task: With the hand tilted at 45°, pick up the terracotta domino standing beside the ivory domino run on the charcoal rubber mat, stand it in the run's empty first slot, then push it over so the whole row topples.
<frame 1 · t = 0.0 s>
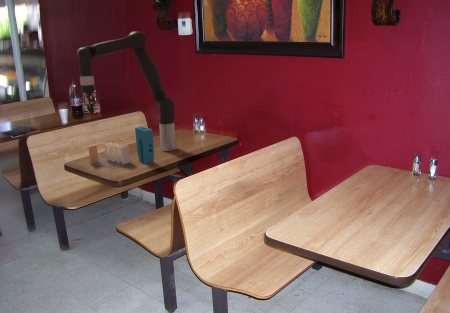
hand: (90, 112, 266), 29 cm above the table, tool pointing down, fingers open, 8 cm apart
domino 3: (115, 160, 271), resting on mat
terracotta tile: (94, 162, 270), resting on mat
block: (146, 162, 268), on the table
mat: (110, 162, 269), on the table
domino 5: (126, 163, 266), resting on mat
domino 2: (110, 159, 274), resting on mat
domino 4: (120, 161, 269), resting on mat
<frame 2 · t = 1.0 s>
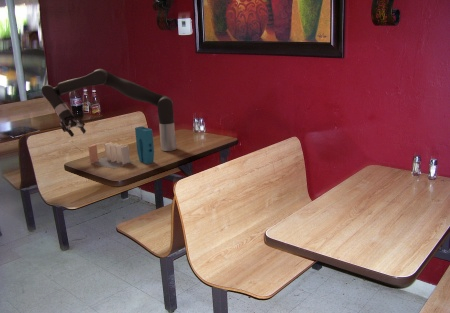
hand: (79, 134, 271), 16 cm above the table, tool tilted 45°, fingers open, 8 cm apart
nothing on the table moved.
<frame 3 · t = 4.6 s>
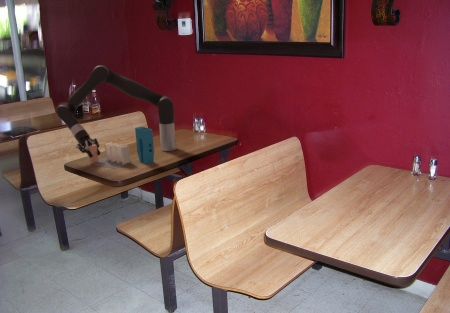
hand: (95, 155, 268), 5 cm above the table, tool tilted 45°, fingers closed on terracotta tile, 5 cm apart
terracotta tile: (94, 162, 270), resting on mat, touching gripper
everything else where it was.
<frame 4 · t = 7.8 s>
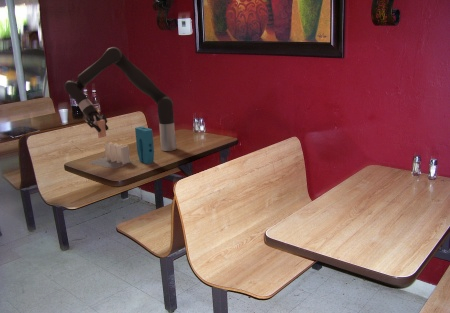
hand: (103, 130, 270), 18 cm above the table, tool tilted 45°, fingers closed on terracotta tile, 5 cm apart
terracotta tile: (102, 137, 272), point 14 cm above the table, touching gripper
everything else where it was.
when the fingers open (5 cm above the table, at t = 11.1 s): terracotta tile stays where it is, resting on mat.
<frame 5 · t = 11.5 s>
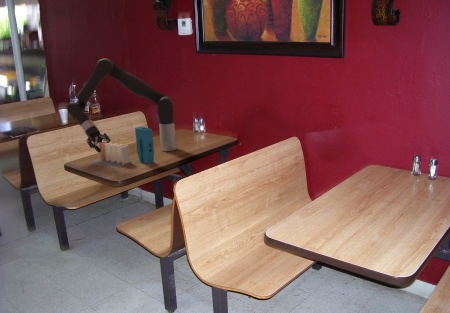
hand: (105, 150, 274), 6 cm above the table, tool tilted 45°, fingers open, 8 cm apart
terracotta tile: (104, 158, 276), resting on mat
everything else where it was.
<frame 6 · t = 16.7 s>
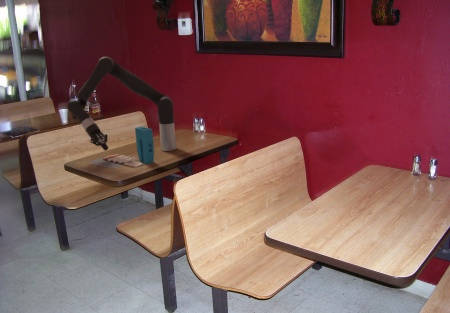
hand: (106, 149, 273), 6 cm above the table, tool tilted 45°, fingers closed
domino 3: (116, 160, 271), point 1 cm above the table, tilted 74°, touching domino 2, domino 4, mat
terracotta tile: (105, 157, 276), point 1 cm above the table, tilted 74°, touching domino 2, mat
domino 5: (127, 162, 266), point 1 cm above the table, tilted 93°, touching domino 4, mat
domino 2: (111, 158, 273), point 1 cm above the table, tilted 74°, touching domino 3, mat, terracotta tile
domino 4: (121, 161, 268), point 1 cm above the table, tilted 74°, touching domino 3, domino 5
everything else where it was.
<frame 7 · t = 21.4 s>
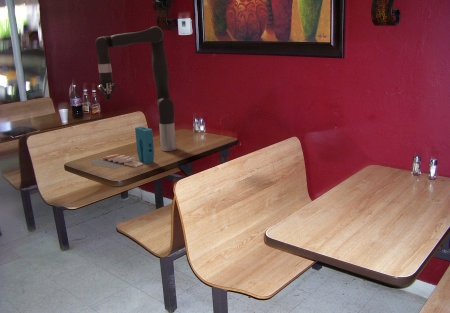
hand: (108, 100, 280), 33 cm above the table, tool pointing down, fingers closed
nothing on the table moved.
at the end: terracotta tile inside the target area (0.9 cm from its centre), point 1.0 cm above the table; terracotta tile tilted 74°; domino 5 tilted 93° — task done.
